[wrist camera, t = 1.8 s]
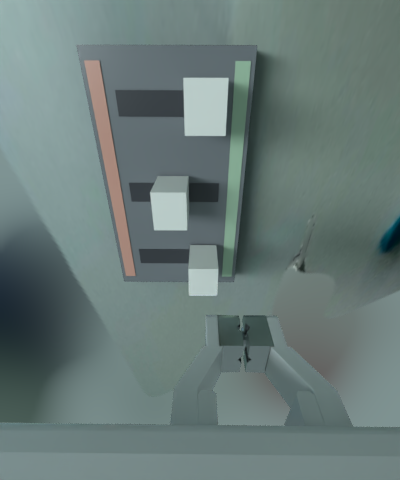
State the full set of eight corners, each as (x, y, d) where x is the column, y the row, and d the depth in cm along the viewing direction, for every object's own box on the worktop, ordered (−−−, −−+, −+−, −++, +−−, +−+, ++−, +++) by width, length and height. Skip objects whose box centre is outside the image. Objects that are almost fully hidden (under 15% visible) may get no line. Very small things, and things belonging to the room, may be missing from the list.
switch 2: (216, 245, 29) (218, 269, 25) (215, 269, 31) (217, 295, 27) (190, 244, 29) (188, 268, 25) (190, 269, 31) (188, 295, 27)
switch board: (251, 49, 22) (257, 45, 19) (232, 269, 34) (234, 282, 32) (88, 48, 22) (75, 44, 19) (129, 269, 34) (124, 281, 32)
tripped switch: (188, 176, 25) (186, 192, 21) (189, 209, 26) (187, 230, 23) (157, 175, 25) (149, 192, 21) (160, 209, 26) (154, 230, 23)
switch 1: (223, 78, 20) (228, 77, 17) (221, 127, 22) (225, 136, 19) (186, 78, 20) (183, 77, 17) (187, 127, 22) (184, 135, 19)
